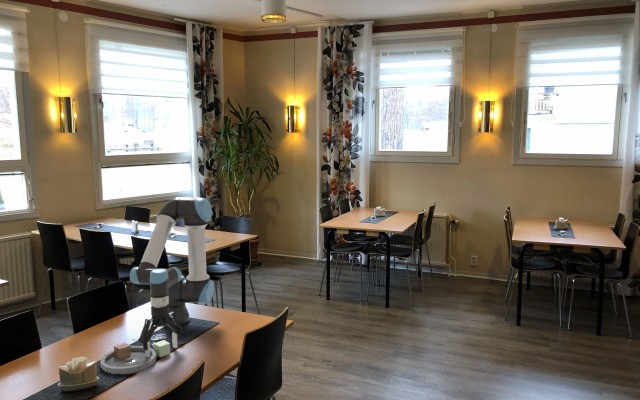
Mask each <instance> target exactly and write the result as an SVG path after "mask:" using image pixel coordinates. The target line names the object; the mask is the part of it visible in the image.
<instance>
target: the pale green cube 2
mask: <svg viewBox="0 0 640 400" xmlns="http://www.w3.org/2000/svg"><path fill="white" fill-rule="evenodd" d="M153 349H154V350H155V351H156V354H157V357H158V358H162V357H165V356H168V355H171V343H170V342H168V341H166V340H164V339H162V340H160V341H157V342H154V343H153Z"/></svg>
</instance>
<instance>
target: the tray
mask: <svg viewBox="0 0 640 400" xmlns="http://www.w3.org/2000/svg"><path fill="white" fill-rule="evenodd" d="M130 346H131V357H126V358H125V359H122V360H119V359H117V358H115V357H114V349H113V350H111V351H109V352H107V353H106V354H104V355H103V356H102V357H101V359H100V368H102V369H101V370H102V371H103V370H104V371H105V372H104V371H103V372H104V373H106V372H108V373H107V374H109V373H111V374H110V375H116V374H121V375H122V374H123V375H131V374H135V373H140V372H142V371H144V370H148V369H149V368H151V367H152V366H153V365H154V364H156V362H157V359H158V358H157V357H158V356H157V354H156V351H155V350H154V348H152V347H150V357H149V358H148V357H146V356H145V350H144V349H143V345H130Z"/></svg>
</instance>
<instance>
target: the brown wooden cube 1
mask: <svg viewBox="0 0 640 400" xmlns="http://www.w3.org/2000/svg"><path fill="white" fill-rule="evenodd" d="M131 346H132V345H130V344H129V343H126V342H122V343H119V344H115V345H113V350H114V357H115V358H117V359H119V360H122V359H125V358H126V357H131Z"/></svg>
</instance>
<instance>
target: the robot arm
mask: <svg viewBox="0 0 640 400" xmlns="http://www.w3.org/2000/svg"><path fill="white" fill-rule="evenodd" d="M212 215H213V211H212V205H211V203H210V201H209V200H208V199H206V198H205V197H204V198H203V197H191V196H190V197H183V196H178V197H174V198H172V199H170V200H169V201H167V202H166V203H165V204H164V205H163V206H162V207H161V208H160V210H159V212H158V214H157V215H156V219H155V220H156V224H155V226H154V228H153V231H152V234H151V236H150V239H149V241H148V242H147V243H148V244H147V246H146V248H145V250H144V253H143V256H142V258H141V261H140V263H139V265H138V266H134V267H132V269H131V270H130V273H129V280H130V282H131V283H132V284H135V285H149V287H150V288H149V289H150V306H151V307H150V314H151V317H150V318H145V319H144V325H143V327H142V331H141V332H140V335H139V338H138V342H139V343H141V344H142V346H143V349H144V350H145V356H146V357H148V358H149V357H150V348H151V344H150V342H149V341H150V339H151V338H152V336H153V334H154V333H155V331H156V330H157V329H158V328H160V327H164V326H166V327H168V328H170V329H171V331H172V333H171V338H172V339H171V340H172V341H171V342H172V347H173V348H175V349H177V348H178V340H179V334H180V333H181V331H183V327H182V325H184V324H187V323H188V322H189V321H190V314H189V313H190V312H189V310H188V309H187V305H186V304H187V303H189V304H199V305H200V304H203V305H204V304H208V303H209V302H210V301H211V300H212V298H213V295H214V291H215V282H214V281H213V280H211V279H210V278H211V277H210V275H209V274H208V273H207V255H206V254H207V253H206V252H207V251H206V250H207V249H206V227H207V225H208V223H209V222H210V221H211V219H212ZM178 221H182V222H183V226H184V227H186V230H187V257H188V275H187V276H186V277H185V276H184V275H182V271H181V270H180V269H179V268H178V267H177V266H172V267H169V268H157V267H158V264H159V262H160V259H161V256H162V253H163V252H164V249H165V246H166V243H167V241H168V238H169V236H170V234H171V231H172V229H173V227H175V226H176V224H177V222H178ZM180 324H181V325H180Z"/></svg>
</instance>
